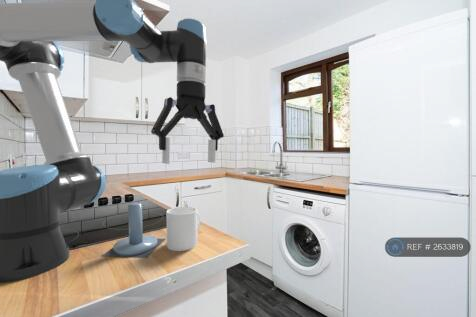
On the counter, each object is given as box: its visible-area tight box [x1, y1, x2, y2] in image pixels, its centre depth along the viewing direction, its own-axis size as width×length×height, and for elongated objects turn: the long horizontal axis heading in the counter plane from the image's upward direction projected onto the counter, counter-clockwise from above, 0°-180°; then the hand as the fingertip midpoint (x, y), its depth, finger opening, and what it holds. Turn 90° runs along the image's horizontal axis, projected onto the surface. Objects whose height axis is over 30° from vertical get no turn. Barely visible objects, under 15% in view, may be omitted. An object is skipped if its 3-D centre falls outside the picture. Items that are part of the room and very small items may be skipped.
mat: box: [101, 237, 166, 259], centre depth 63 cm, size 12×12×1 cm
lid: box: [112, 202, 157, 256], centre depth 63 cm, size 11×11×12 cm
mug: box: [165, 206, 201, 252], centre depth 66 cm, size 12×8×10 cm
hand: (190, 162), depth 62 cm, fingers open, 13 cm apart
